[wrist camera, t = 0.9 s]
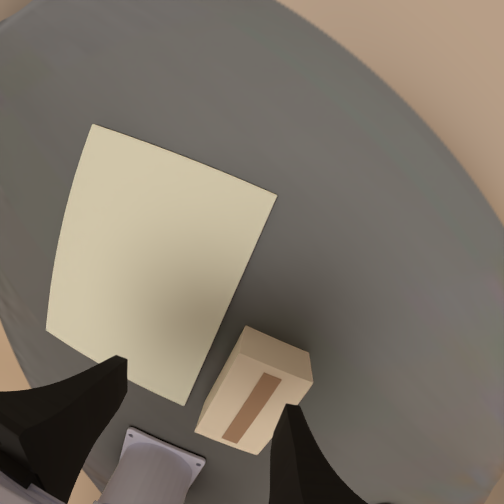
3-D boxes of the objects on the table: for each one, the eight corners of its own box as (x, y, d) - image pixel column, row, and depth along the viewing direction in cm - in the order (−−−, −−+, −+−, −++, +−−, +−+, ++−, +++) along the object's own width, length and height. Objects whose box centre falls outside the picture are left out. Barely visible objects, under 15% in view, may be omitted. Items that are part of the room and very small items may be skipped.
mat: (185, 403, 24) (184, 406, 23) (48, 328, 24) (46, 330, 23) (277, 195, 20) (277, 195, 19) (95, 124, 19) (92, 123, 19)
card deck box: (260, 421, 24) (257, 456, 20) (205, 399, 24) (194, 432, 20) (308, 351, 22) (313, 383, 18) (245, 324, 22) (239, 353, 18)
